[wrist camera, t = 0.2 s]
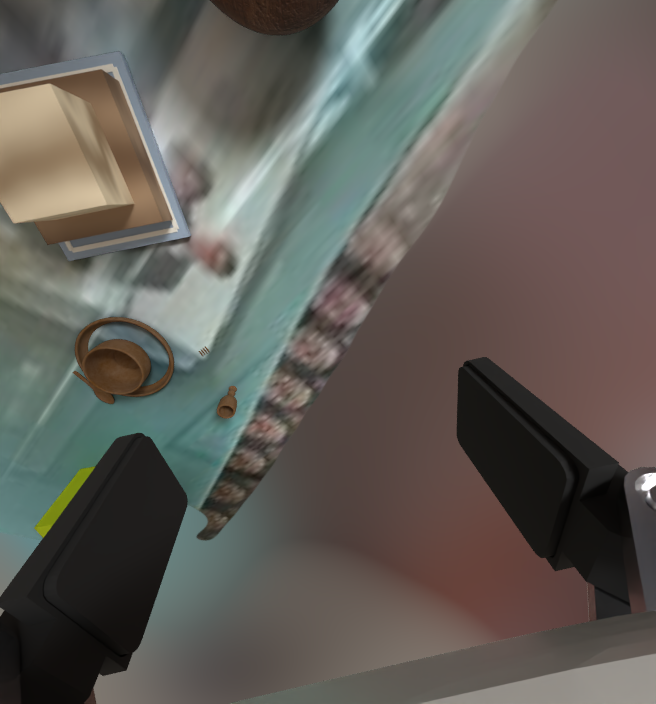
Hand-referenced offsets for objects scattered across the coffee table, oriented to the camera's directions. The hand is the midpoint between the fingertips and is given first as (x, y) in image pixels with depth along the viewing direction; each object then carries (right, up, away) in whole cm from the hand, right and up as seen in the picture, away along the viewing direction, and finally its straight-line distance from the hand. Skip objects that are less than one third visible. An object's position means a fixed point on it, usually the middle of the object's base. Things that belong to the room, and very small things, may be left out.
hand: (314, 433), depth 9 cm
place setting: (-25, 0, +34) cm, 42 cm away
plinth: (-24, +21, +21) cm, 38 cm away
